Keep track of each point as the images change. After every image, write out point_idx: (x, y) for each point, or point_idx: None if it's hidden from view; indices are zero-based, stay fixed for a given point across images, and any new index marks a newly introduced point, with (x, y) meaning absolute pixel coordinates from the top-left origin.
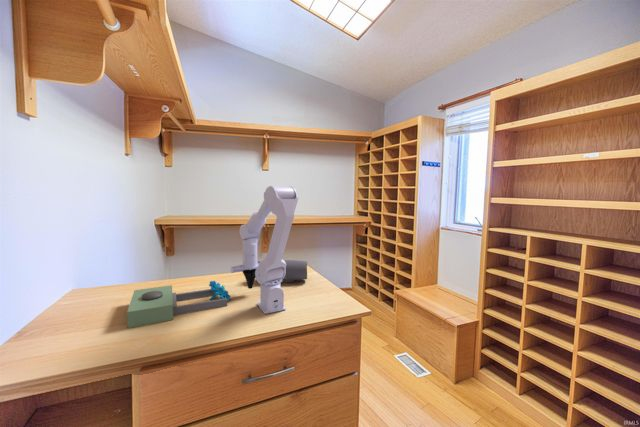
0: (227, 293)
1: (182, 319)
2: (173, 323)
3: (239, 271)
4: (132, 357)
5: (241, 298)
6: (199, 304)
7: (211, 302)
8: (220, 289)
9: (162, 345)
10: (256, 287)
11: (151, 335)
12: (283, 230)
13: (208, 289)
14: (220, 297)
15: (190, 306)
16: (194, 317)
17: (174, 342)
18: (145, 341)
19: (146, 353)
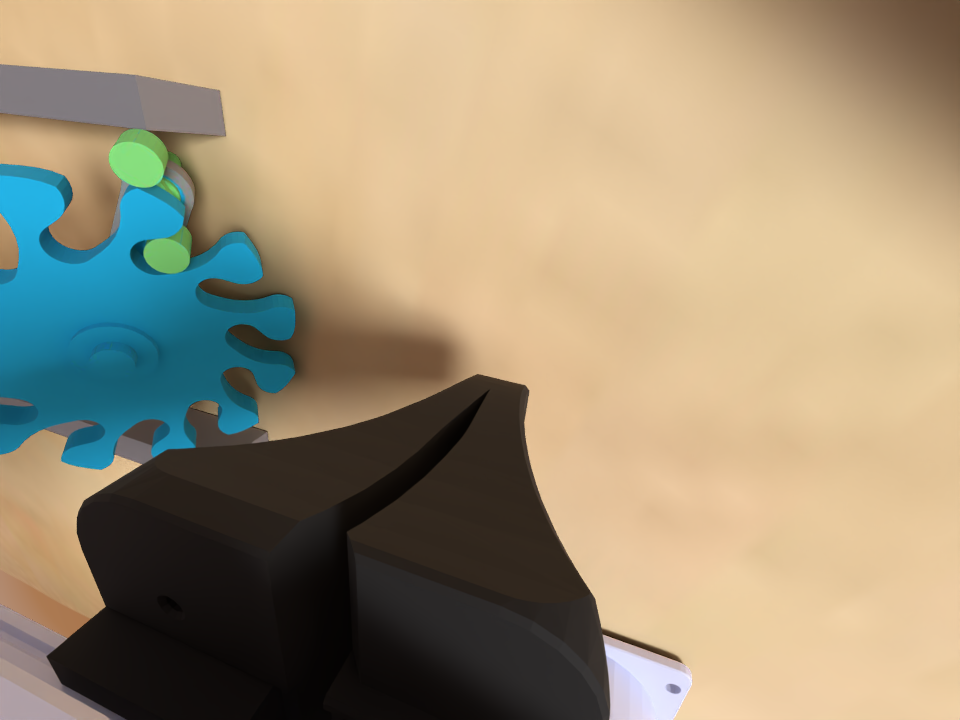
0: (254, 276)
1: (60, 446)
2: (37, 458)
3: (20, 642)
4: (19, 578)
5: (406, 397)
6: (57, 429)
7: (125, 453)
8: (103, 366)
9: (68, 583)
10: (784, 115)
11: (4, 496)
12: None
13: (10, 82)
14: (164, 450)
15: None
16: (108, 466)
17: (97, 595)
18: (7, 522)
19: (44, 587)
